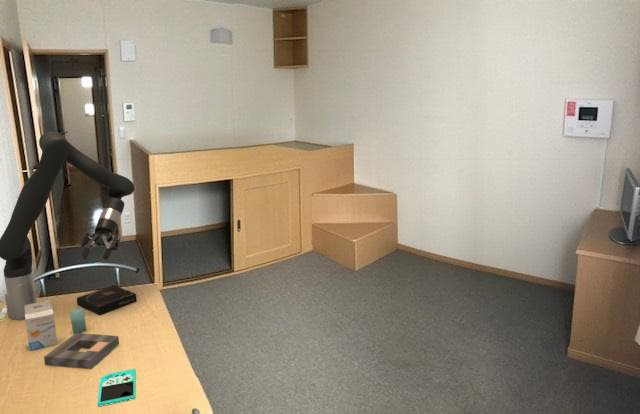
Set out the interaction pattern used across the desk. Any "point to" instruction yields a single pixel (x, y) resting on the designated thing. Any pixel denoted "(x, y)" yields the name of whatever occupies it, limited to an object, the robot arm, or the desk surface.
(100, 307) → the portable cd player
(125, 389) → the handheld game console
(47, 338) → the ink box
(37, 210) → the robot arm
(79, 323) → the peg
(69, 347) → the holder
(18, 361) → the desk surface
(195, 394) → the desk surface
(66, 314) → the desk surface
